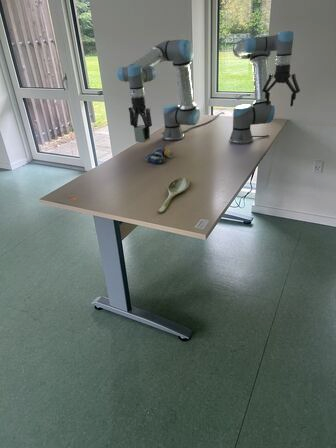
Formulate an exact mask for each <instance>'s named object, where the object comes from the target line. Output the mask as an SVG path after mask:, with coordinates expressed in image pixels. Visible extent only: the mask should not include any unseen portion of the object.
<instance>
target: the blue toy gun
mask: <svg viewBox="0 0 336 448" xmlns="http://www.w3.org/2000/svg"><path fill="white" fill-rule="evenodd" d="M164 156H165V157H166V158H168V159H172V158H173V157H174V156H175V154H174V151H172V150H169V149H166V148H165V147H156V148H155V150H153V151H151V152H150V153H149V154H147V155H146V156H145V159H144V160H145V162H147V163H152V164H155V165H156V164H162V163H163V162H165V159H166V158H165V157H164Z"/></svg>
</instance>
